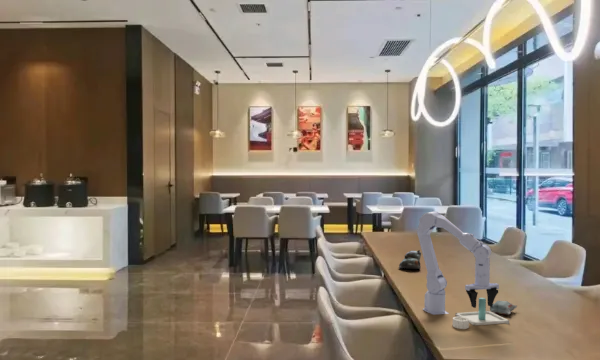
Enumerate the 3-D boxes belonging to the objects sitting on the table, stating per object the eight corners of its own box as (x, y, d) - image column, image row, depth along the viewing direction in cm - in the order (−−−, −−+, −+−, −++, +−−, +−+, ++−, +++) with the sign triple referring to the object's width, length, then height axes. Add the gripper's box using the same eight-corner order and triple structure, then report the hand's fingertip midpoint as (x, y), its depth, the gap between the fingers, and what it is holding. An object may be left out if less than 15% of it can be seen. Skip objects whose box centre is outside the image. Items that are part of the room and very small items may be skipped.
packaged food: (517, 311, 219) (517, 300, 219) (509, 318, 210) (509, 306, 210) (496, 308, 224) (496, 297, 224) (488, 314, 215) (488, 303, 215)
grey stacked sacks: (394, 268, 313) (397, 247, 319) (409, 274, 317) (412, 254, 323) (410, 265, 301) (413, 244, 306) (425, 271, 305) (427, 250, 311)
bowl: (449, 326, 198) (449, 317, 198) (463, 325, 200) (463, 316, 200) (457, 330, 193) (458, 321, 192) (471, 329, 194) (471, 320, 194)
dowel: (477, 318, 207) (477, 297, 207) (483, 317, 208) (483, 297, 207) (480, 320, 204) (481, 299, 204) (486, 319, 205) (487, 299, 205)
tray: (455, 316, 211) (455, 313, 211) (488, 314, 215) (488, 310, 215) (474, 326, 198) (474, 323, 197) (509, 324, 201) (509, 320, 201)
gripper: (472, 276, 200) (471, 310, 200) (503, 275, 204) (503, 308, 204) (462, 273, 207) (462, 305, 207) (493, 271, 210) (492, 303, 211)
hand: (481, 306), depth 206 cm, fingers open, 7 cm apart
